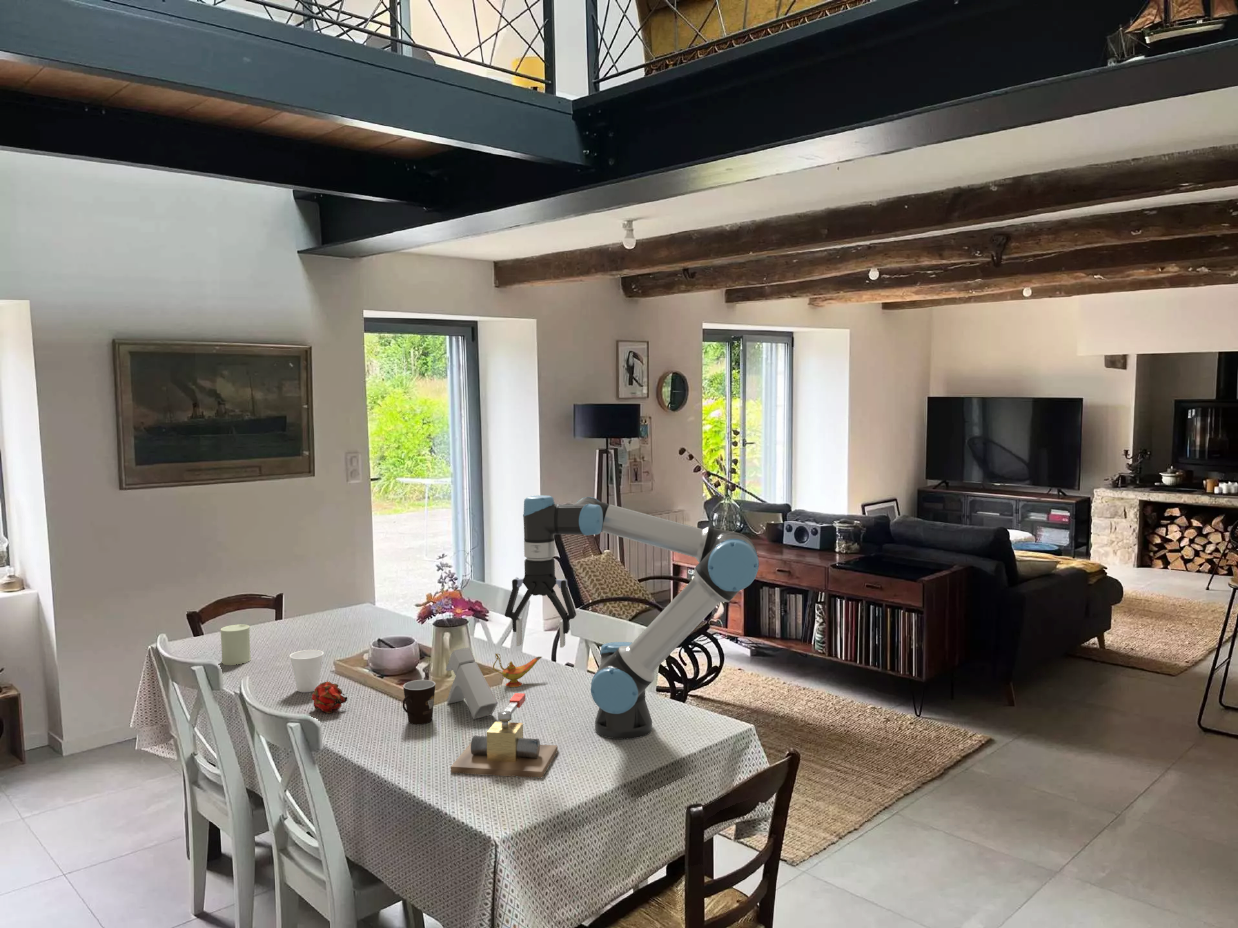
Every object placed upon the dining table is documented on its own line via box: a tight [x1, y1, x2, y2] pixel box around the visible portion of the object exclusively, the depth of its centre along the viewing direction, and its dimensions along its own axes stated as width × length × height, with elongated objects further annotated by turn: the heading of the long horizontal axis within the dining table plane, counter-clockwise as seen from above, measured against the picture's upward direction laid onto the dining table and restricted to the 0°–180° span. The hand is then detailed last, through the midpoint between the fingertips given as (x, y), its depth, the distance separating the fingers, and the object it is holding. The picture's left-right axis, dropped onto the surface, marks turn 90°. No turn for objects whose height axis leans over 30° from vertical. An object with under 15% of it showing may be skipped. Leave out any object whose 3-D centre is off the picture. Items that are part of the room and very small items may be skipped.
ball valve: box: [470, 721, 541, 762], centre depth 220 cm, size 16×7×9 cm, turn 81°
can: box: [219, 623, 252, 666], centre depth 307 cm, size 9×9×12 cm
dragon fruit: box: [310, 681, 348, 714], centre depth 258 cm, size 8×8×12 cm
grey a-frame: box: [445, 647, 498, 720], centre depth 258 cm, size 6×16×20 cm
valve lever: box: [497, 692, 526, 722], centre depth 226 cm, size 16×3×2 cm, turn 171°
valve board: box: [450, 742, 558, 779], centre depth 220 cm, size 22×16×2 cm
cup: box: [288, 649, 325, 693], centre depth 276 cm, size 10×10×11 cm
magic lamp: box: [492, 653, 543, 688], centre depth 280 cm, size 7×18×11 cm, turn 130°
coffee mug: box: [402, 679, 437, 726], centre depth 248 cm, size 12×9×10 cm
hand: (541, 645), depth 228 cm, fingers open, 10 cm apart
